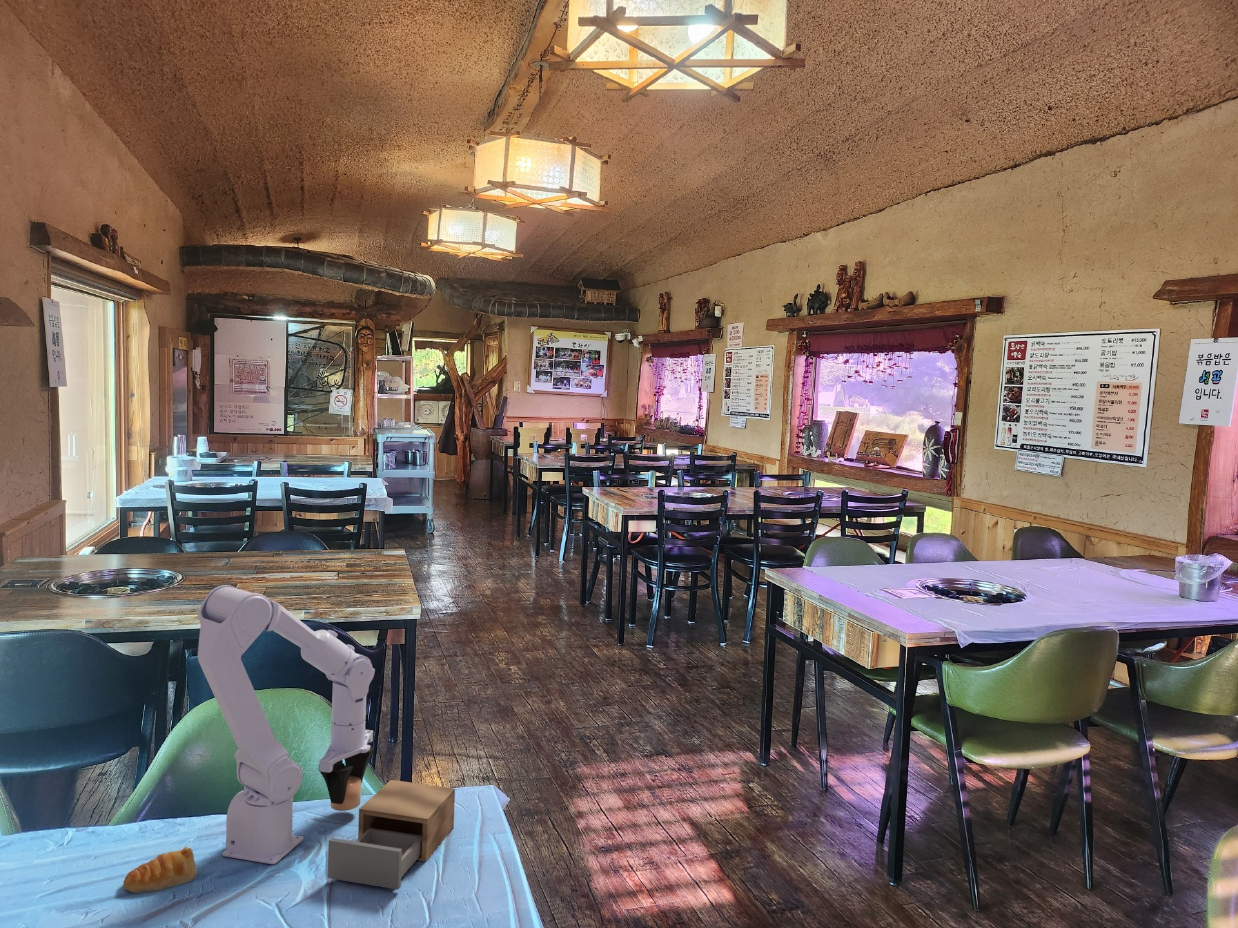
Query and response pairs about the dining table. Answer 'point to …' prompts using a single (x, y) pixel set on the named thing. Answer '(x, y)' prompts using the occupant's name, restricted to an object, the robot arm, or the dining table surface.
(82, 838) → the dining table surface
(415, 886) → the dining table surface
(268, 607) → the robot arm
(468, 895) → the dining table surface
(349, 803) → the tan rounded cylinder
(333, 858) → the grey drawer
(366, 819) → the housing
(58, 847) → the dining table surface
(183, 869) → the pastry
